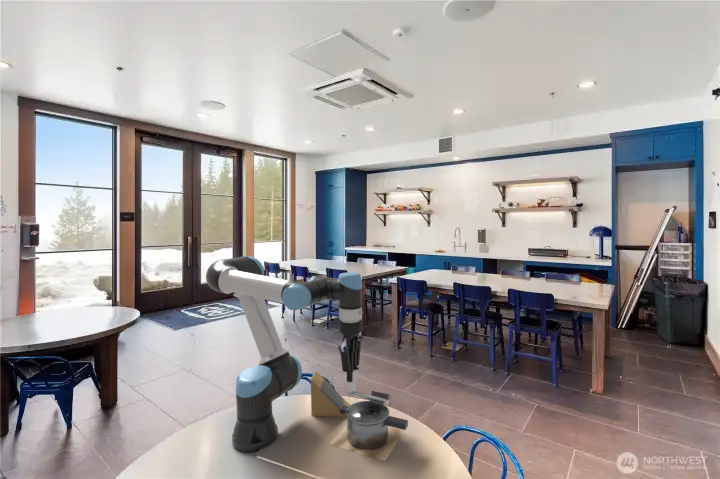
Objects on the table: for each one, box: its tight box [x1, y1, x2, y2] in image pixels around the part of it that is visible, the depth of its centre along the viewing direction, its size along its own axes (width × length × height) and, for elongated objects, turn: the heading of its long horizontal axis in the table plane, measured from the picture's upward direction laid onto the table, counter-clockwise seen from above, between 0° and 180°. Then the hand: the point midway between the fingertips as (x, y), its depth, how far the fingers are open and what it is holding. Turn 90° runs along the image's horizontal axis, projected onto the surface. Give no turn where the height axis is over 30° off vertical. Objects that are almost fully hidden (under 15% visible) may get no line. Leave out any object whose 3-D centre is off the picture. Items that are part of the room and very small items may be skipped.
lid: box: [347, 390, 392, 406], centre depth 127 cm, size 14×15×3 cm
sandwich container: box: [310, 370, 351, 418], centre depth 143 cm, size 9×15×15 cm, turn 86°
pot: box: [340, 400, 409, 450], centre depth 125 cm, size 24×16×9 cm, turn 64°
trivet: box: [328, 424, 405, 462], centre depth 126 cm, size 20×18×1 cm
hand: (351, 389), depth 123 cm, fingers closed
